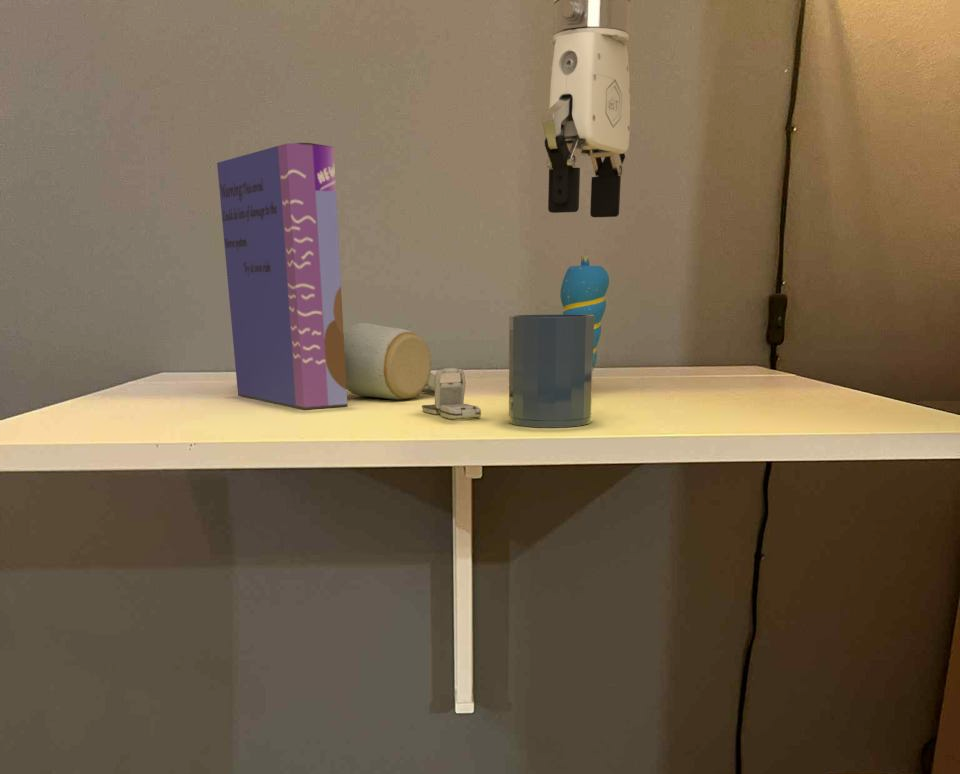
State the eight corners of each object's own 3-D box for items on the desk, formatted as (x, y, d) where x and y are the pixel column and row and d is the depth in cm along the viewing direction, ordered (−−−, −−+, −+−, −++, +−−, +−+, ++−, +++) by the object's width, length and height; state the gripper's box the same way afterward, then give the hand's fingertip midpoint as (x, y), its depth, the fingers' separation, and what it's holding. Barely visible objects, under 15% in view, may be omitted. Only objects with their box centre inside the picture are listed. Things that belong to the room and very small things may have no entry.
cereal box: (347, 406, 100) (333, 144, 92) (304, 409, 97) (286, 140, 89) (277, 392, 114) (259, 163, 105) (238, 395, 111) (216, 160, 103)
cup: (604, 419, 88) (607, 314, 85) (567, 429, 83) (570, 317, 80) (534, 415, 92) (535, 314, 89) (494, 424, 86) (494, 316, 83)
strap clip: (484, 418, 90) (483, 370, 88) (453, 420, 89) (453, 372, 87) (447, 409, 97) (447, 364, 96) (419, 410, 96) (418, 365, 95)
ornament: (598, 391, 112) (602, 249, 107) (611, 396, 107) (616, 248, 102) (553, 392, 111) (556, 250, 106) (565, 397, 106) (568, 248, 101)
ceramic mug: (388, 403, 102) (386, 325, 99) (335, 397, 107) (332, 323, 104) (457, 396, 109) (457, 323, 107) (405, 391, 114) (404, 322, 112)
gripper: (587, 1, 88) (580, 209, 94) (660, 38, 102) (650, 217, 108) (514, 12, 92) (512, 211, 98) (594, 46, 106) (588, 219, 112)
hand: (584, 214), depth 103 cm, fingers open, 9 cm apart
